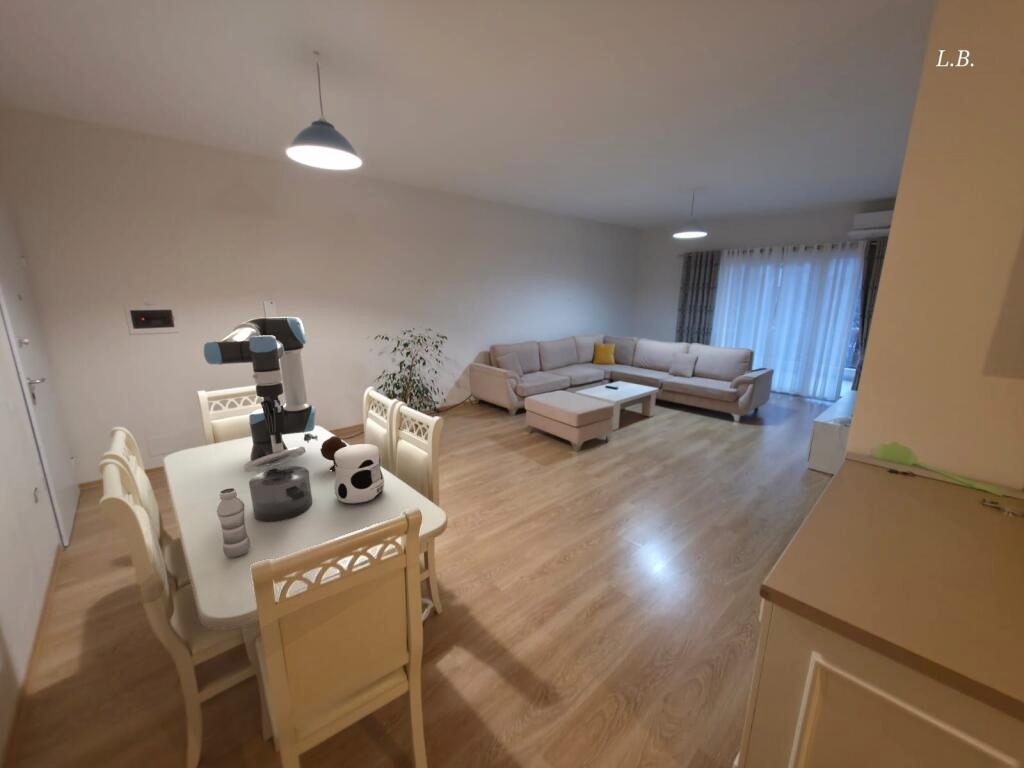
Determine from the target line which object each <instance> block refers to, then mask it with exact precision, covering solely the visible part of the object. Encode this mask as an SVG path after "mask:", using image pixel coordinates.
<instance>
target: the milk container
mask: <svg viewBox="0 0 1024 768" xmlns="http://www.w3.org/2000/svg"><path fill="white" fill-rule="evenodd" d="M380 456H381V455H380V450H379V447H378V446H377V445H374V444H372V443H371V444H370V443H359V444H358V443H357V444H352V445H347V446H346V447H344V448H341V449H339V450H338V451H336V453H335V454H334V462H335V471H334V472H335V481H334V494H335V496H336V499H337V500H339V502H341V503H343V504H347V505H358V504H365V503H369V502H371V501H373V500H375V499H377V498H378V497H380V495H382V493H383V491H384V489H385V478H384V475H383V472H382V469H381V459H380V458H381V457H380ZM334 462H333V463H334Z"/></svg>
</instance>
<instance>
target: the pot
mask: <svg viewBox="0 0 1024 768" xmlns="http://www.w3.org/2000/svg"><path fill="white" fill-rule="evenodd" d="M310 479H311V478H310V471H309V470H308V468H307V467H304V466H300V465H288V466H280V467H276V468H271V469H269V470H265V471H262V472H260V473H258V474H256V475H255V476H253V477H251V479H250V480H249V481H248V485H249V491H250V498H251V503H252V504H251V505H252V511H253V515H254V516H253V517H254V518H255V519H256V520H257V521H259V522H262V523H276V522H277V523H278V522H283V521H288V520H290V519H294V518H296V517H298V516H300V515H303V514H304V513H305V512H307V511H308V510H310V508H311V507H312V505H313V497H312V496H313V495H312V488H311V480H310Z"/></svg>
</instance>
